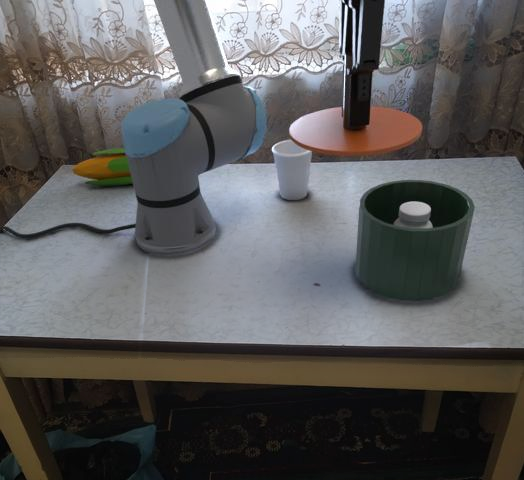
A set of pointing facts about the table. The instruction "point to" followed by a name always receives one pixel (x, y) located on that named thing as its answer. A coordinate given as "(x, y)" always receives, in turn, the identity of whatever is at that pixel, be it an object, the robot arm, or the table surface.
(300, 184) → the dixie cup
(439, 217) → the tin
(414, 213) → the pill bottle
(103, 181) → the corn
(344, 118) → the tin lid
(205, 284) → the table surface
